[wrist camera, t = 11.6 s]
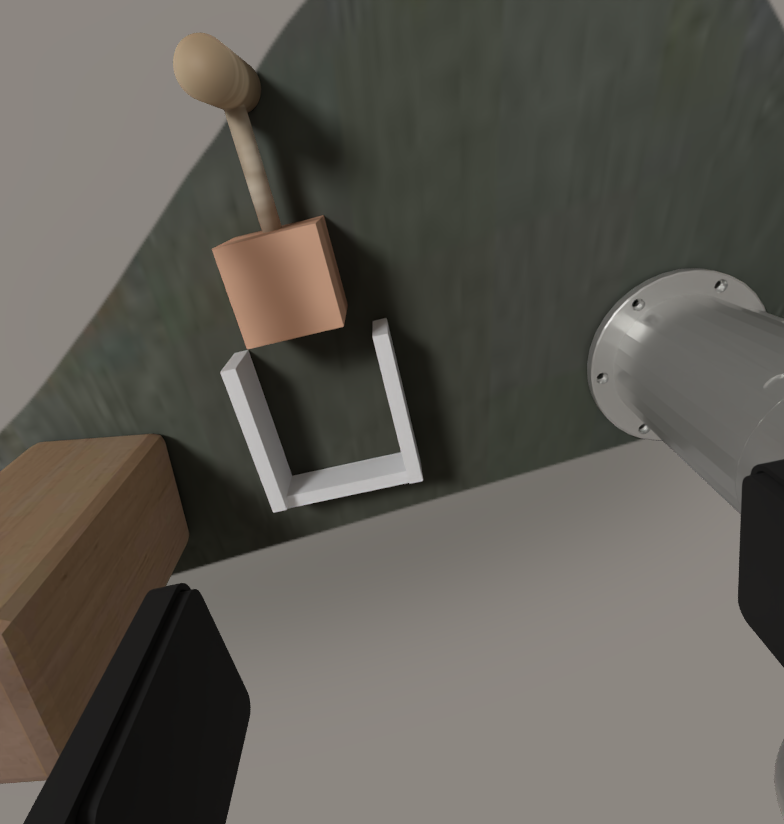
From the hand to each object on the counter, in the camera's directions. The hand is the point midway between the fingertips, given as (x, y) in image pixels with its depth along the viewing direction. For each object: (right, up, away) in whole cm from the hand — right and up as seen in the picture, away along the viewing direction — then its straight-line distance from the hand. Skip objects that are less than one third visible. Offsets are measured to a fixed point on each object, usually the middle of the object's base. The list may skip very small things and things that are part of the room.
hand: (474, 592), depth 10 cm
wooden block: (-23, -3, +34) cm, 41 cm away
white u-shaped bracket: (-6, +3, +32) cm, 32 cm away
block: (-9, +17, +26) cm, 32 cm away
